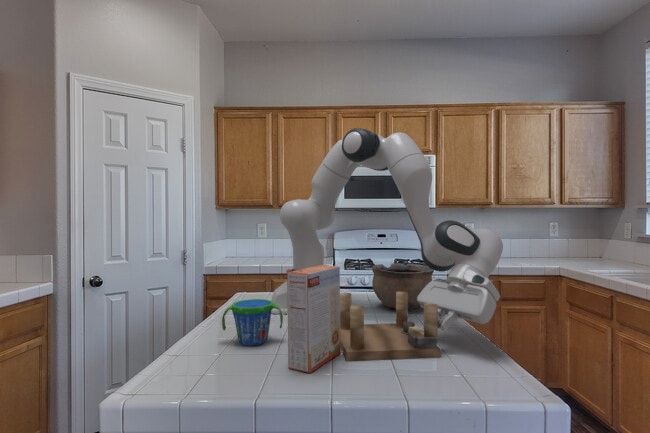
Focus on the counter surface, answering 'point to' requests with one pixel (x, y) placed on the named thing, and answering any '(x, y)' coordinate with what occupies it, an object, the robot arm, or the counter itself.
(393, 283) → the ceramic bowl
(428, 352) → the stool
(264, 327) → the snack cup
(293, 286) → the cracker box
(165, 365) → the counter surface
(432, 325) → the leg
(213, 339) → the counter surface
